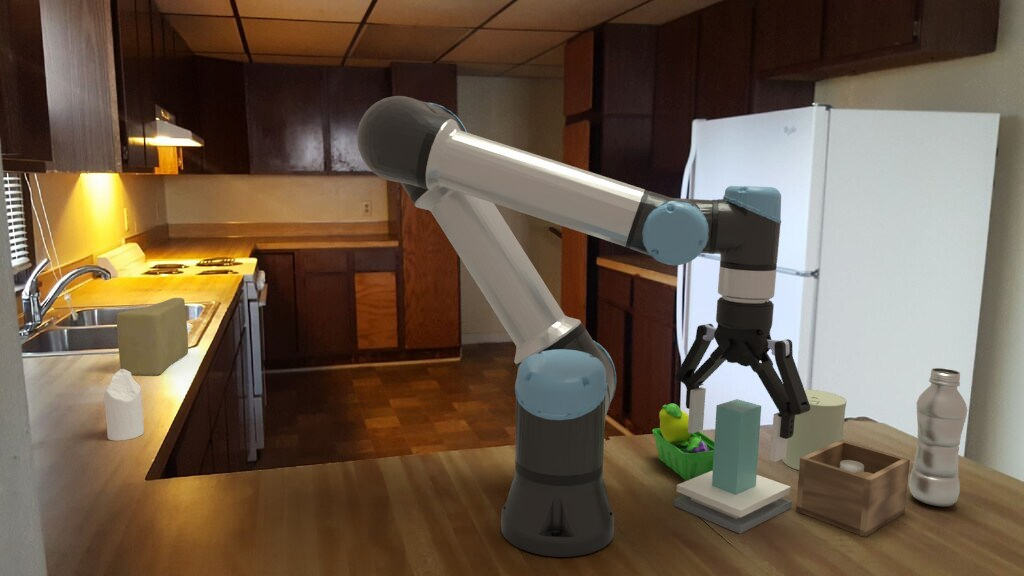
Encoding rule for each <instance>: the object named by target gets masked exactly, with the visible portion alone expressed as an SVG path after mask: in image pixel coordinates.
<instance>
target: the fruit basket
mask: <svg viewBox="0 0 1024 576" xmlns="http://www.w3.org/2000/svg"><path fill="white" fill-rule="evenodd" d="M658 417H659V428H658V427H657V428H653V429H652V431H651V432H652V435H653V437H654V440H655V444H656V449H657V454H658V457H659V458H658V459H659V461H661V462H662V463H664V464H665V466H667V467H668V468H669V469H672V470H673V472H674V473H676V474H677V475H679V476H680V477H681V478H682V479H684V481H688V480H690V479H693V478H695V477H698V476H700V475H703V474H705V473H708V472H710V471H713V457H714V440H713V439H711V438H710V437H708V436H707V435H706V434H704V433H702V431H699V432H695V433H692V434H691V433H689V432H688V421H689V413H687V412H685V411H683V410H682V409H681V407H679V405H678V404H676V403H669V404H664V405H662V409H660V411H659V415H658Z"/></svg>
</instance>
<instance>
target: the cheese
mask: <svg viewBox="0 0 1024 576" xmlns="http://www.w3.org/2000/svg"><path fill="white" fill-rule="evenodd" d="M185 304H186V303H185V299H184V298H183V297H172V298H170V299H166V300H163V301H162V302H158V303H155V304H152V305H149V306H146V307H142V308H136V309H131V310H125V311H121V312H118V313H117V314H116V330H117V332H116V333H117V345H118V348H117V349H118V356H119V365H120V369H125V370H127V371H129V372H131V376H147V377H149V376H150V377H151V376H152V377H153V376H160V375H161V374H162V373H163V372H165V371H166V370H167V369H168V368H169V367H170V366H171V365H172V364H174V363H175V362H178V361H179V360H181V359H182V358H184V357H185V356H187V355H188V353H189V335H188V334H189V333H188V321H187V314H186V305H185Z"/></svg>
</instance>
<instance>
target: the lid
mask: <svg viewBox="0 0 1024 576" xmlns="http://www.w3.org/2000/svg"><path fill="white" fill-rule="evenodd" d="M715 411H716V413H715V424H714V425H715V429H714V440H713V441H714V457H713V471H710V472H708V473H705V474H703V475H700V476H698V477H695V478H693V479H689V480H684V481H683V482H681V483H678V484H676V492H677V493H680V494H682V495H686V496H689V497H691V500H692V501H694V502H697V503H699V504H702V505H704V506H707V507H709V508H711V509H714V510H716V511H719V512H721V513H723V514H726V515H728V516H731V517H733V518H736V519H738V518H741V517H743V516H745V515H747V514H749V513H751V512H753V511H755V510H757V509H759V508H761V507H763V506H765V505H767V504H769V503H772V502H774V501H776V500H778V499H780V498H784V497H786V496H788V495H790V494H791V492H792V491H791V490H792V487H791V486H790V485H788V484H784V483H782V482H780V481H779V482H778V481H776V480H773V479H770V478H768V477H766V476H765V477H764V476H762V475H758V474H757V473H758V461H759V460H758V457H759V446H760V429H761V417H762V405H759V404H756V403H753V402H749V401H745V400H741V399H738V398H735V399H732V400H729V401H726V402H722V403H720V404H717V405H716V410H715Z"/></svg>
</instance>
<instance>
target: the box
mask: <svg viewBox="0 0 1024 576" xmlns="http://www.w3.org/2000/svg"><path fill="white" fill-rule="evenodd" d="M910 462H911V460H910V458H906V457H902V456H899V455H896V454H892V453H889V452H884V451H881V450H878V449H875V448H871V447H868V446H864V445H860V444H857V443H853V442H850V441H846V440H840V441H838V442H835V443H833V444H831V445H829V446H826V447H824V448H822V449H819V450H817V451H815V452H813V453H810V454H808V455H806V456H803V457H801V458H800V466H799V470H798V478H797V479H798V480H797V494H796V506H795V511H796V512H797V513H800V514H803V515H805V516H808V517H810V518H814V519H816V520H818V521H822V523H823V522H824V523H826V524H830V525H831V526H834V527H838V528H840V529H843V530H845V531H847V532H850V533H853V534H855V535H858V536H861V537H863V538H867V537H869V536H870V535H871V534H873V533H875V532H876V531H878V530H880V529H881V528H883V527H885V526H887V525H888V524H889V523H891V522H892V521H894V520H895V519H896V520H897V518H898V517H901V516H902V515H903V514H905V512H906V505H907V503H906V501H907V495H908V494H907V492H908V485H909V472H910Z"/></svg>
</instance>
